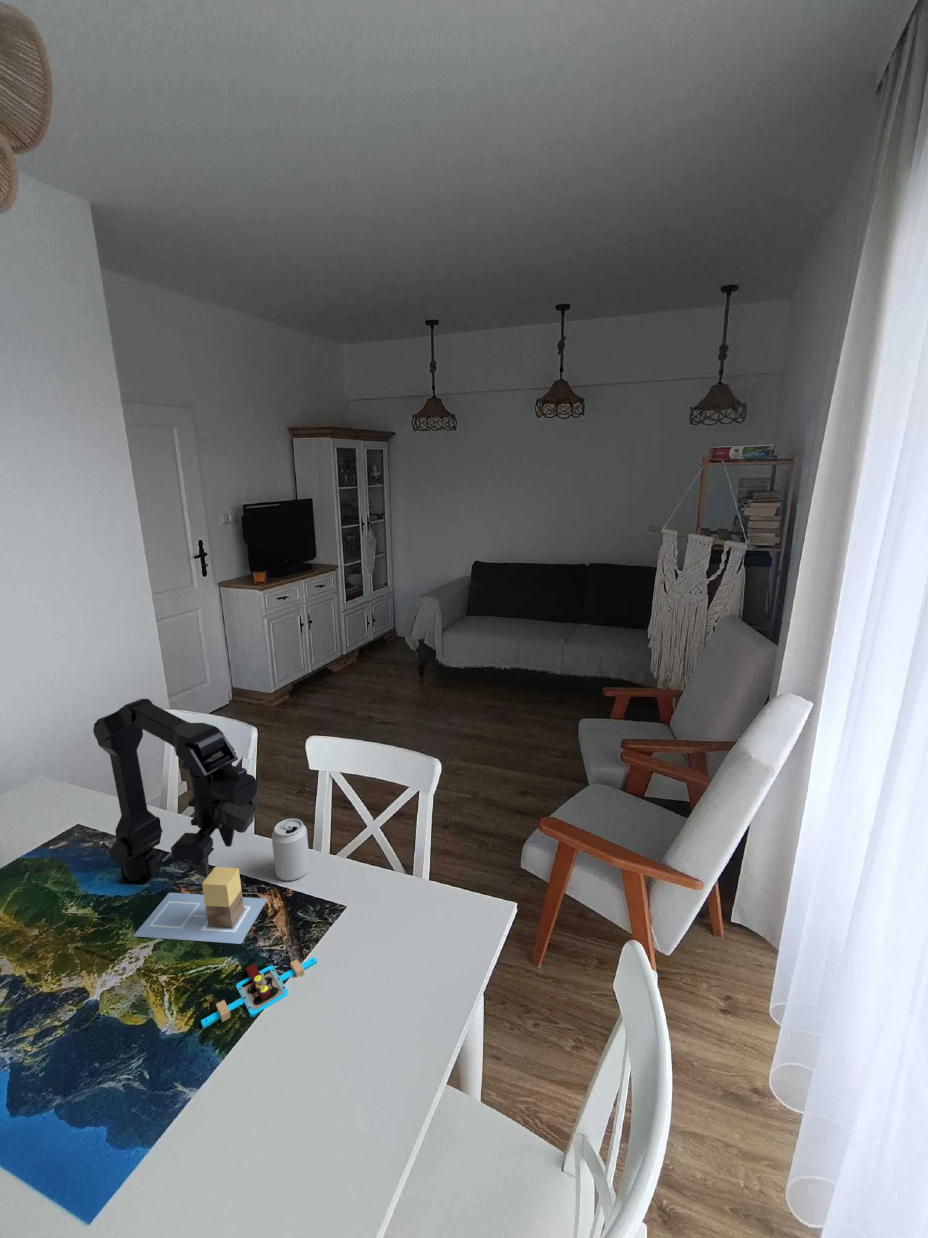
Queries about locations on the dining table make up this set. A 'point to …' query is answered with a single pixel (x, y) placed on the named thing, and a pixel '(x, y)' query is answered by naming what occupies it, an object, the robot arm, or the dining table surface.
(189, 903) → the blueprint sheet
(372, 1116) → the dining table surface
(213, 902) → the ochre block
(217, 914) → the walnut cube
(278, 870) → the can
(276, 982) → the gear mechanism
